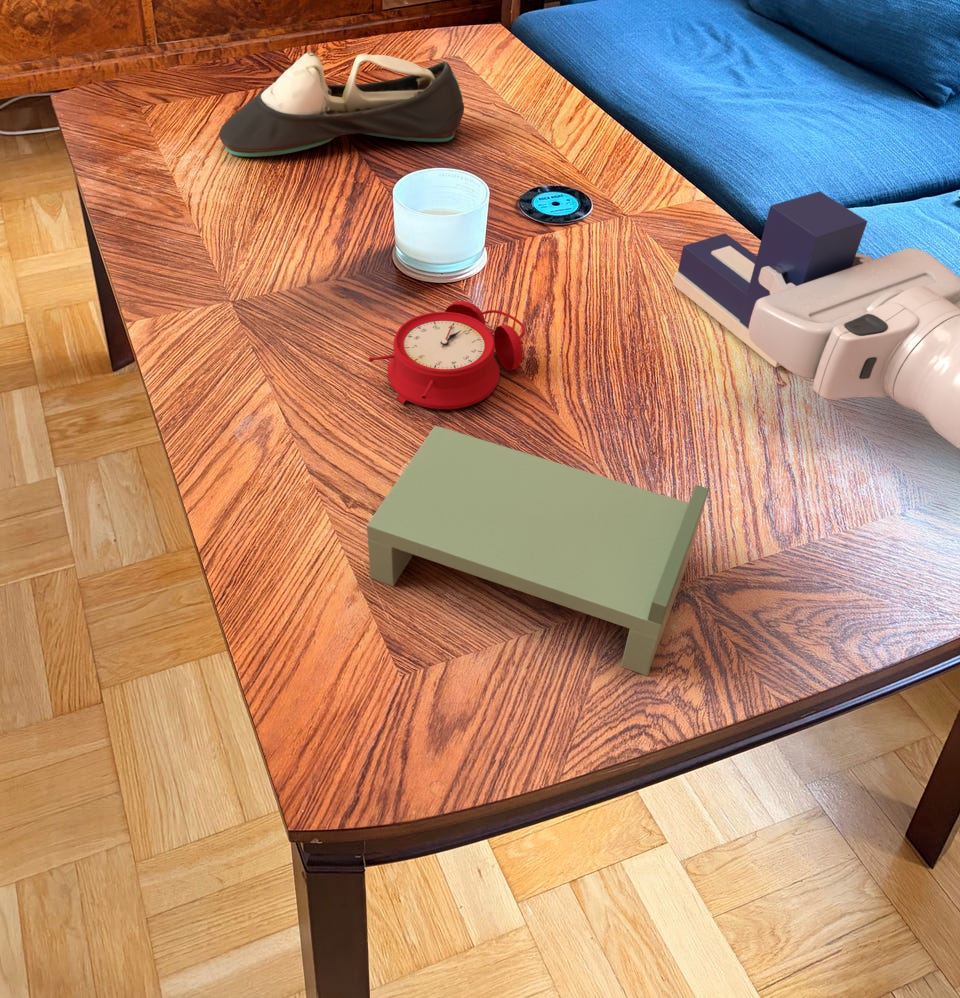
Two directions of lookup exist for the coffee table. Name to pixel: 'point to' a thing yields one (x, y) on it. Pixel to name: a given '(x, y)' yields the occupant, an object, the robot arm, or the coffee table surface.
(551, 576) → the shoe rack
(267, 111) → the ballet flat
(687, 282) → the dark blue l-shaped block
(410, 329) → the alarm clock
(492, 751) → the coffee table surface
